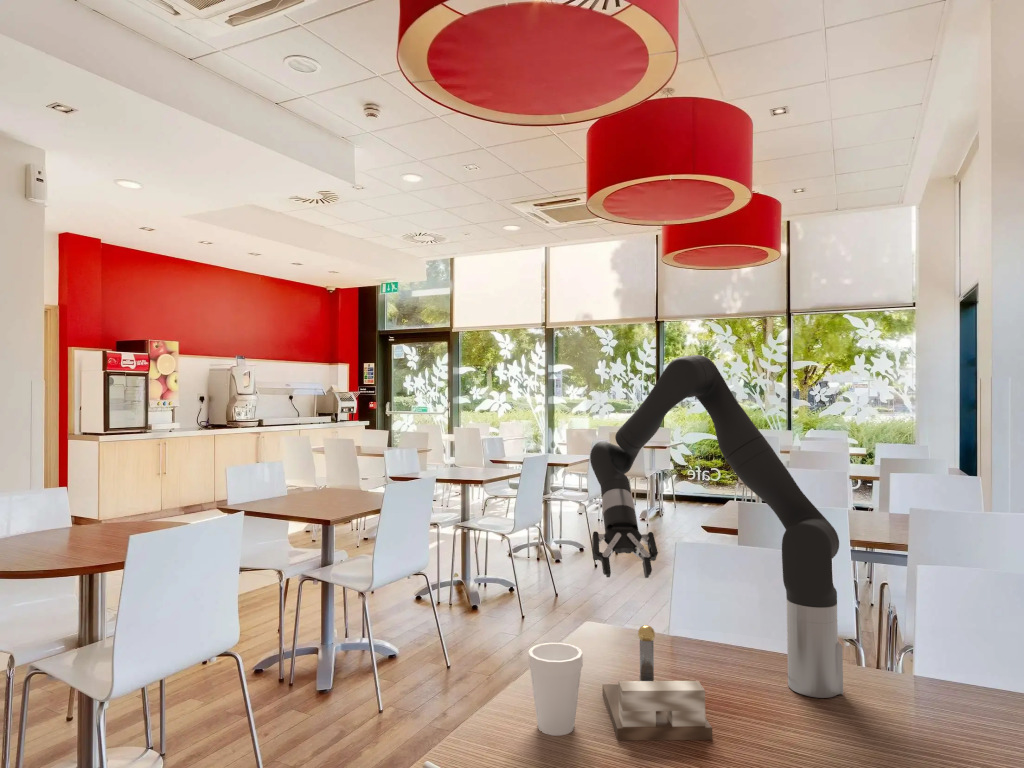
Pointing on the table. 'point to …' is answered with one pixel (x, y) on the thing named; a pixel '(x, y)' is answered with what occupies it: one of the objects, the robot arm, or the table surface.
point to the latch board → (650, 731)
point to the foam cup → (555, 685)
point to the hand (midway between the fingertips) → (628, 575)
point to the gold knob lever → (646, 653)
